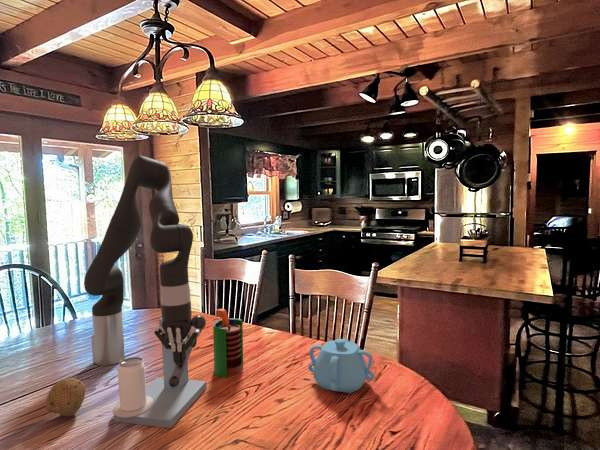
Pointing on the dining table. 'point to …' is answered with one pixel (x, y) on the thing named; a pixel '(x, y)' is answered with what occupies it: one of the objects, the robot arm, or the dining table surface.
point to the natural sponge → (66, 397)
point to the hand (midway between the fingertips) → (179, 363)
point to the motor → (227, 345)
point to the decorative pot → (340, 366)
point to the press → (163, 397)
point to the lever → (198, 323)
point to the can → (132, 384)
